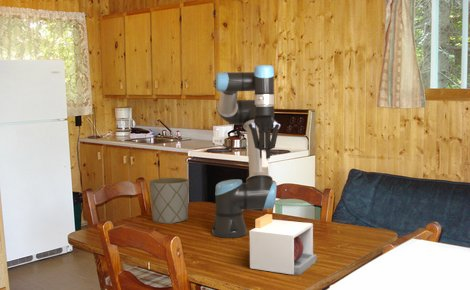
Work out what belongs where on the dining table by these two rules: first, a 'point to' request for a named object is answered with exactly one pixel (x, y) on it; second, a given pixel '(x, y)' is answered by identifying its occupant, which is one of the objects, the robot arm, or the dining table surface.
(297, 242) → the mechanical component
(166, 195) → the planter
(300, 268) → the grey shallow tray
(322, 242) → the dining table surface
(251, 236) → the white open cubby
